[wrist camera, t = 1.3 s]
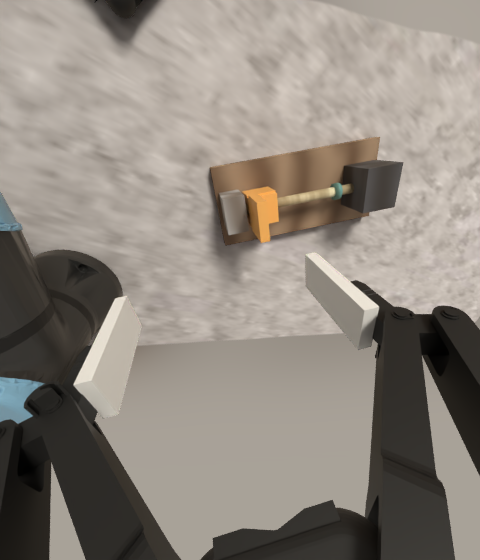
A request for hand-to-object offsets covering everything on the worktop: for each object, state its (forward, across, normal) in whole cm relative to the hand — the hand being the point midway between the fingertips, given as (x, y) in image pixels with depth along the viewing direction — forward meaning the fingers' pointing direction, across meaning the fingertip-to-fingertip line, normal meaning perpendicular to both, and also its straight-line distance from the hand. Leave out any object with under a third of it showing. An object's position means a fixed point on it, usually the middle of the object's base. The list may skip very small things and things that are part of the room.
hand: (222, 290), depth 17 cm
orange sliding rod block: (+22, +8, 0) cm, 24 cm away
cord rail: (+24, +15, 0) cm, 29 cm away
